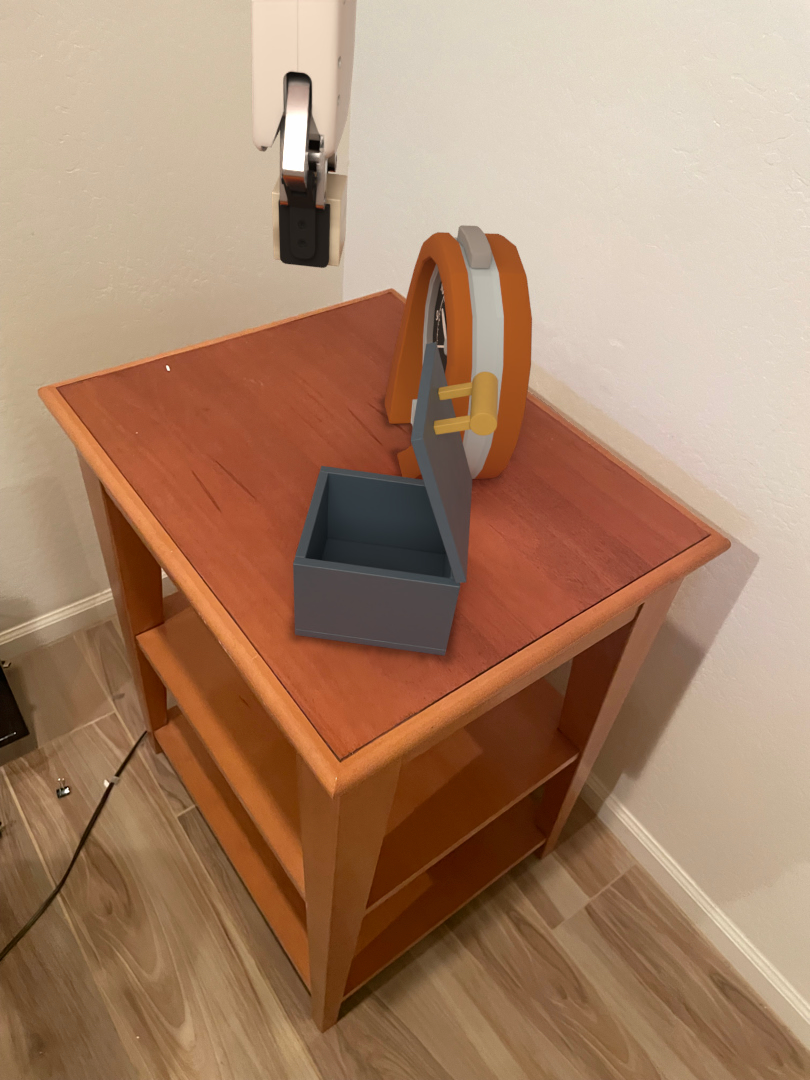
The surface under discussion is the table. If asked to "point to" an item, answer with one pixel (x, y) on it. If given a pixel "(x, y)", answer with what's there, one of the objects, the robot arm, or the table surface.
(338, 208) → the block
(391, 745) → the table surface
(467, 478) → the lid
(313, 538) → the chest
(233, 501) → the table surface
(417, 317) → the alarm clock
